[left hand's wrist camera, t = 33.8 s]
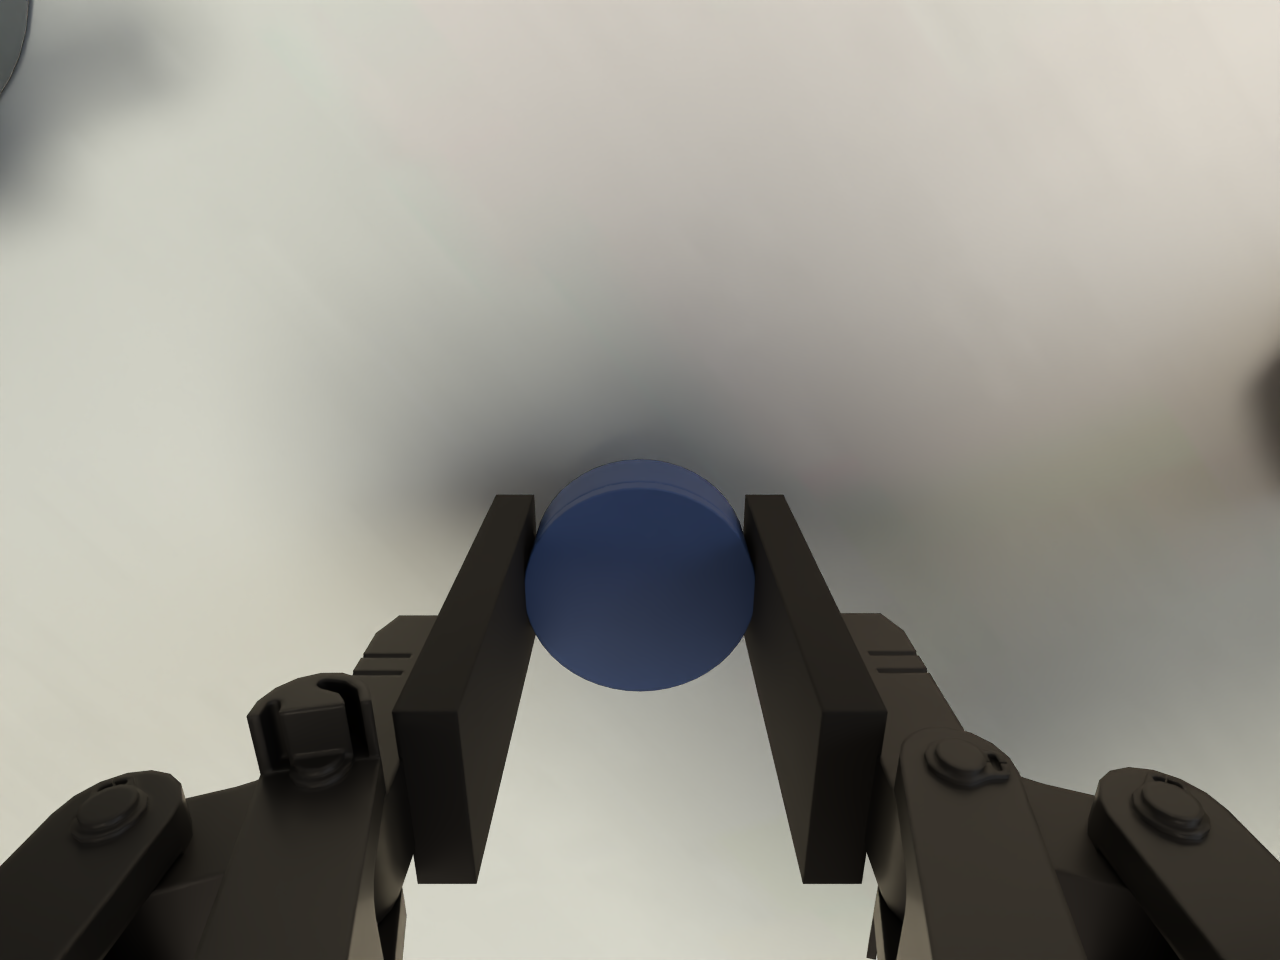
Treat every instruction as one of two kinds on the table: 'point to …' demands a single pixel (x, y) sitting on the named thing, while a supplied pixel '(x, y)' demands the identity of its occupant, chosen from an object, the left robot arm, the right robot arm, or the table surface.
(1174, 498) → the table surface
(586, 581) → the cap
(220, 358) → the table surface
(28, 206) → the table surface
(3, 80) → the bottle
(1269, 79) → the table surface
